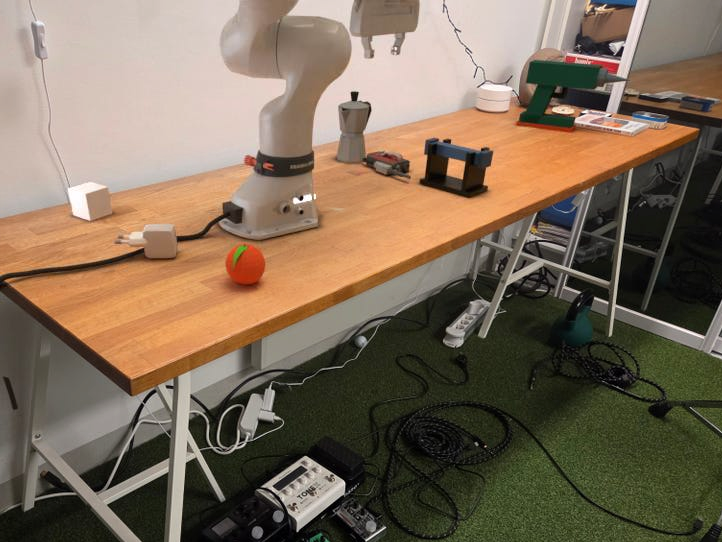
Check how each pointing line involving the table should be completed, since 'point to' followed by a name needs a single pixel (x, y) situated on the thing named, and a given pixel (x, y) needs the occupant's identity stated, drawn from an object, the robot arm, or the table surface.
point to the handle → (460, 153)
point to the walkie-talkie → (388, 163)
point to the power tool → (566, 77)
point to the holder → (442, 181)
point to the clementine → (245, 264)
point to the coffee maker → (353, 129)
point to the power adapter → (153, 240)
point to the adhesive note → (90, 201)
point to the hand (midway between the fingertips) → (382, 56)
